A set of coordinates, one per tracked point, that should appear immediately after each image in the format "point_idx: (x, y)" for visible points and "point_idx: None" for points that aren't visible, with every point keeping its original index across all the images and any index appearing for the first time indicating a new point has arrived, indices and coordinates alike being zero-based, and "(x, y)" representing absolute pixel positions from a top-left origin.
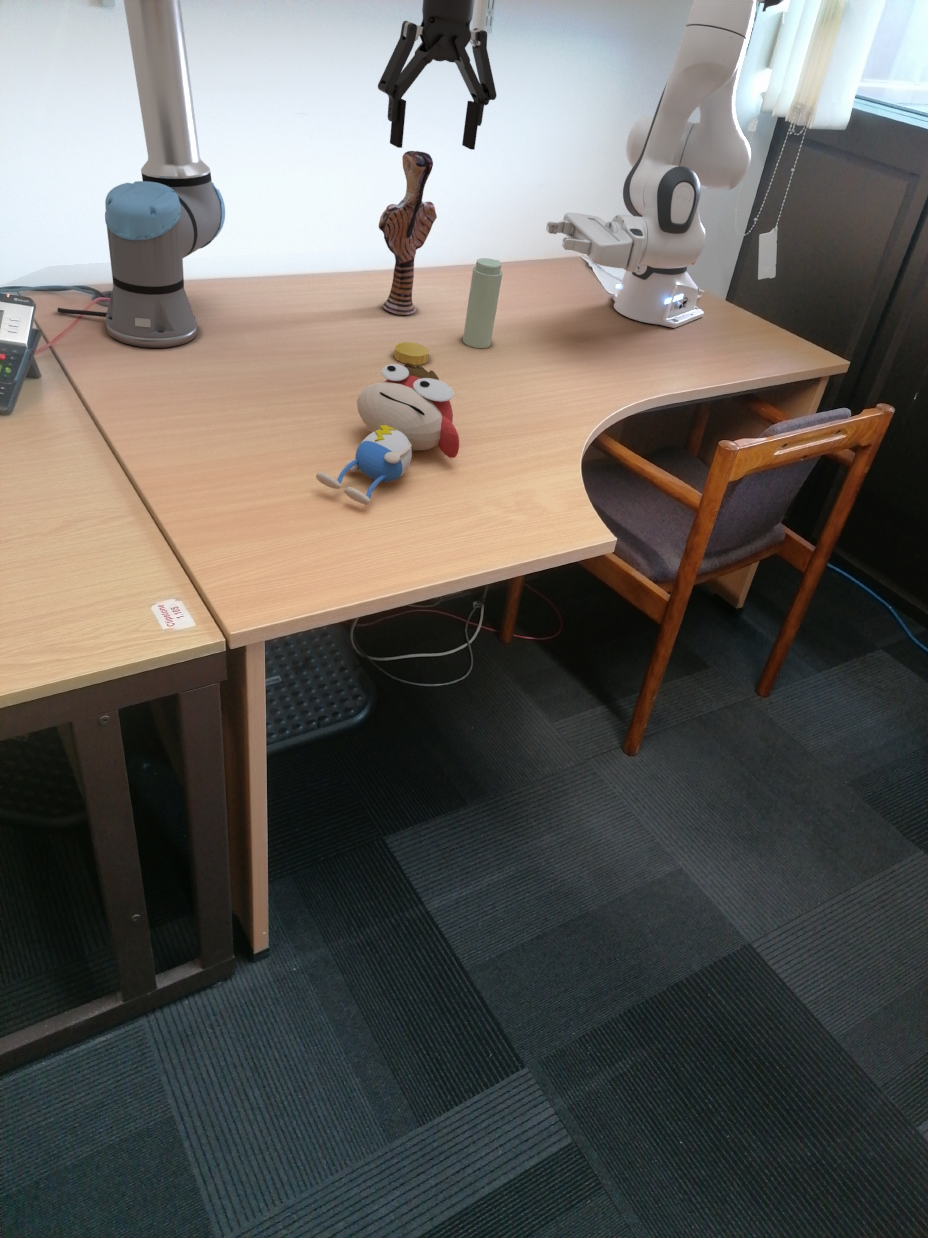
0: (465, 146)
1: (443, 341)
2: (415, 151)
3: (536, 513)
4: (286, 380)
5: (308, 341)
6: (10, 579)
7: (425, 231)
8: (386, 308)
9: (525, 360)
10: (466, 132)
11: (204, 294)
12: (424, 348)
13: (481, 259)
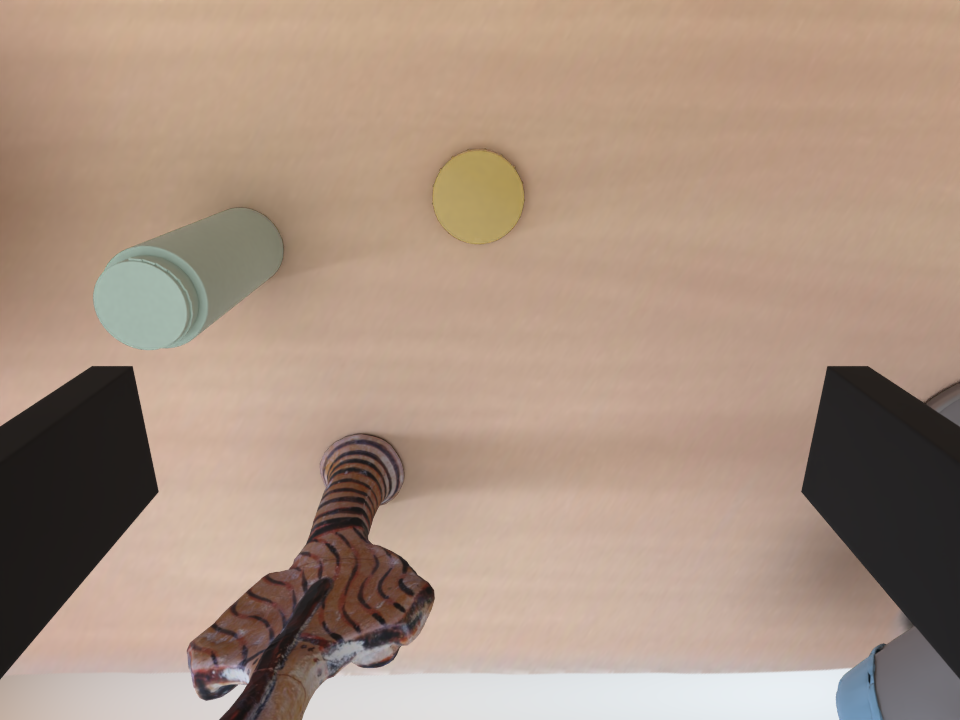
0: (148, 443)
1: (337, 272)
2: None
3: None
4: (856, 146)
5: (682, 343)
6: None
7: (249, 602)
8: (401, 469)
9: (150, 101)
10: (92, 515)
11: (768, 607)
12: (441, 193)
13: (160, 336)
